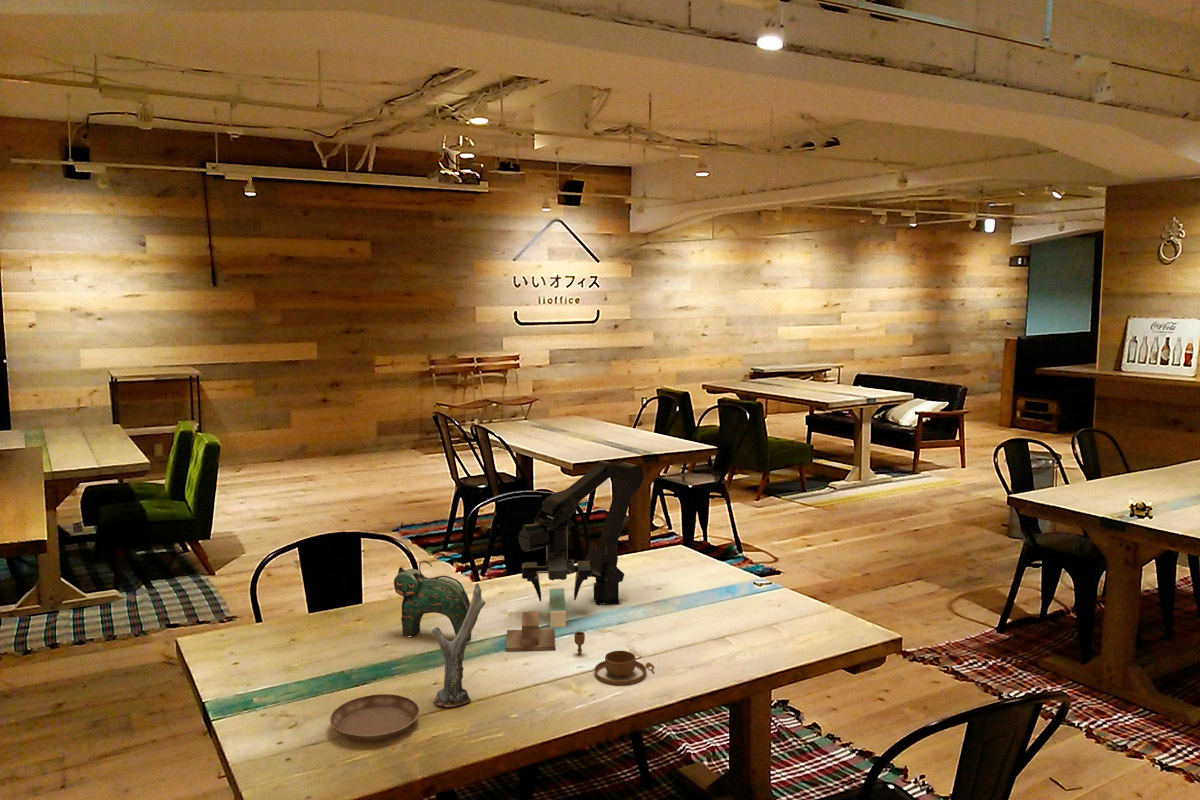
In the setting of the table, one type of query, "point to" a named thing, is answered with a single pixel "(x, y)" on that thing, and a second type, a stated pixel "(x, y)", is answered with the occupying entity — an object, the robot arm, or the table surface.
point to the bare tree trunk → (457, 655)
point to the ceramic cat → (430, 599)
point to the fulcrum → (530, 636)
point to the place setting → (616, 664)
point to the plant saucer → (375, 718)
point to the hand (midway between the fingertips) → (557, 600)
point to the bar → (557, 607)
